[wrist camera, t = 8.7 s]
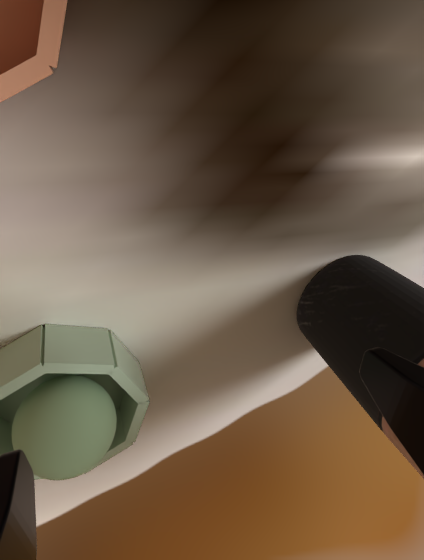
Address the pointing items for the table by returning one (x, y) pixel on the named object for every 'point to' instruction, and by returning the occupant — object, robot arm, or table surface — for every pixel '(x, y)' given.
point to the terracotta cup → (28, 42)
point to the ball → (64, 426)
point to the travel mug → (363, 323)
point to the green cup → (73, 361)
